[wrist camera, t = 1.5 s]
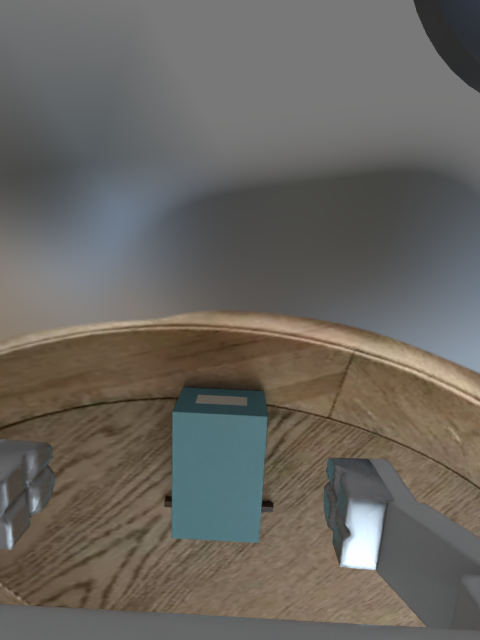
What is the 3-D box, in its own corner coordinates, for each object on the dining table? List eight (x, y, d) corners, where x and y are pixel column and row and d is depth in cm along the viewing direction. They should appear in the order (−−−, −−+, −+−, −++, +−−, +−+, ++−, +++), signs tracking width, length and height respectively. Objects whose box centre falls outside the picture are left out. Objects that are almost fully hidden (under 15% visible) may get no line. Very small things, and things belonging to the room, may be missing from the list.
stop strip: (165, 496, 31) (164, 501, 31) (273, 502, 31) (273, 507, 30) (165, 502, 31) (164, 507, 31) (272, 508, 31) (273, 512, 31)
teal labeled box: (183, 386, 29) (172, 410, 24) (264, 390, 29) (267, 415, 24) (181, 497, 31) (171, 538, 27) (257, 501, 31) (258, 543, 27)
